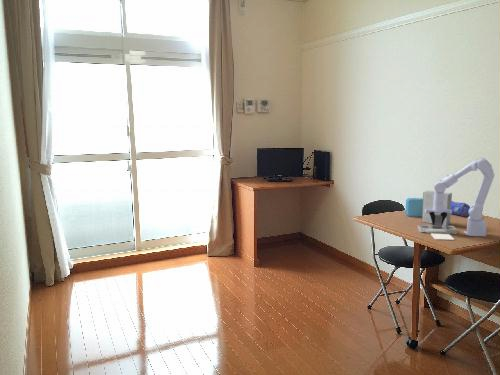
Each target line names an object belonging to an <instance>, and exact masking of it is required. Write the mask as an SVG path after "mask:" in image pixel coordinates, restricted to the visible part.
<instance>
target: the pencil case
mask: <svg viewBox="0 0 500 375" xmlns="http://www.w3.org/2000/svg"><path fill="white" fill-rule="evenodd" d="M470 208H471V206H470V205H469V204H468V203H466V202H457V201H453V200H452V201H451V210H452V213H451V215H456V216H461V217H467V216H470V215H469V213H468V210H469V209H470Z"/></svg>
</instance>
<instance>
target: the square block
mask: <svg viewBox="0 0 500 375" xmlns="http://www.w3.org/2000/svg"><path fill="white" fill-rule="evenodd" d="M442 226H443V225H442V215H439V214H435V219H434V225H433V228H442Z"/></svg>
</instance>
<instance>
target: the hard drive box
mask: <svg viewBox="0 0 500 375" xmlns="http://www.w3.org/2000/svg"><path fill="white" fill-rule="evenodd" d="M434 191H435V190H425V191H423V193H422V198H423V208H422V216H421V222H422V223H425V222H426V223H427V224H432V220H431V217H430V214H429V213H425V209H433V202H434ZM444 195H445V197H444V209H449V210H451V201H453V200H452V197H453V192H448V191H447V192H446V191H444ZM435 214H439V215H441V213H435ZM451 215H452V214H451V213H447V216H446V218H445V220H444V222H443V225H442V226H449V225H450V224H451Z"/></svg>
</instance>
